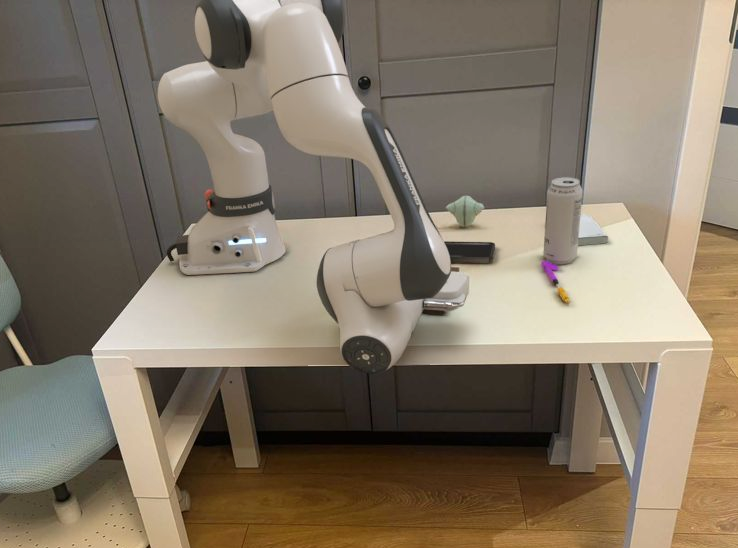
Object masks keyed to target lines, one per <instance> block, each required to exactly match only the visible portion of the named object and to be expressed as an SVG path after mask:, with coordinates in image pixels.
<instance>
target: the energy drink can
mask: <svg viewBox="0 0 738 548" xmlns="http://www.w3.org/2000/svg"><path fill="white" fill-rule="evenodd" d="M583 193H584V190H583V188H582V186H581V181H580V179H579V178H575V177H571V176H570V177H568V176H566V177H557V178H554V179H552V180H551V184H550V186H549V187H548V188H547V191H546V205H545V223H544V238H543V252H542V254H543V257H545V261H549V262H550V263H551V264H556V265H569V264H571V263H573V262H574V260H575V259H576V258H577V256H578V249H579V245H578V238H579V227H580V215H581V214H582V203H583Z"/></svg>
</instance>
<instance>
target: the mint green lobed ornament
mask: <svg viewBox="0 0 738 548" xmlns="http://www.w3.org/2000/svg"><path fill="white" fill-rule="evenodd" d="M445 209H446V210H447V211H448V212H449V213H450V214H451V215H452V216H453V217H454V218H455V220H456V222H457V223H458V224H459V226H460V227H462V228H468V227H470V226H471V225H472V224H473V223H474V222H475V220H476V217H477V216H479V215H480V214H481V213H482V212H483V210H484V209H485V206H484V204H483V203H481V202H477V201H476V200H475V199H473V198H472V196H469V195H463V196H462V195H461V196H460V198H458V199H457V200H455V201H453V202H451V203H448V205H447V206H445Z"/></svg>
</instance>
